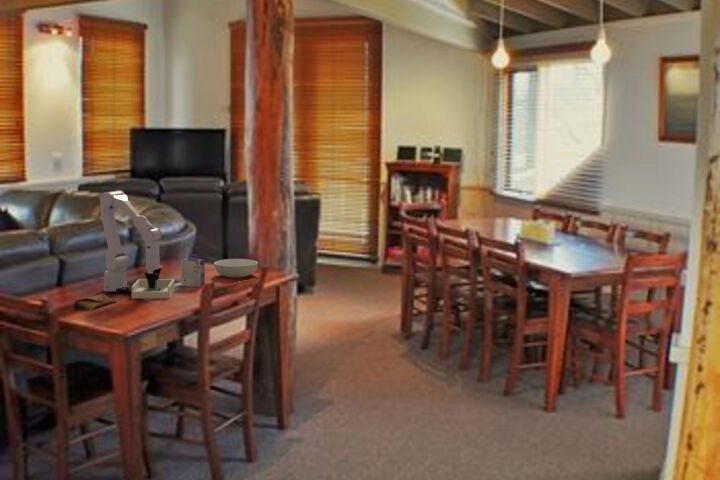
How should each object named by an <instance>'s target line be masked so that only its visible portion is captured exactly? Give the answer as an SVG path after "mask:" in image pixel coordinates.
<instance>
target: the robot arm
mask: <svg viewBox="0 0 720 480" xmlns="http://www.w3.org/2000/svg"><path fill="white" fill-rule="evenodd" d="M128 199H129V198H128V195H127V194H125V192H124V191H122V189H121V190H119V189H118V190H113V191H106V192H105V191H104V192H103V193H102V194H101V195H100V198H99V201H100V217H101V220H102V226H103V231H104V234H105V239H106V243H107V248H108V250H107V252H106V254H105V255H104V257H105V262H104V263H105V267H106V269H107V270H105V271H104V274H103V281H104V282H103V284H104V285H103V286H104V290H103V291H104V292H117V291H116V289H118V288H122V287H126V286H127V287H128V285H127V284H128V283H127V280H128V279H127V269H128V267H129V266H130V258H129V255H127V251H126V250H125V249H124V248H123V247H122V243H121V239H120V234H119V231H118V225H117V222H116V216H115V211H117V209H121V210H122V211H123V212H124V213H125V214H126V215H127V216H128V217H129V218H131V220H132V221H133V223H132V224H133V226H134V227H135V228H136V229H137V230H138V231H139V232H140V234H141V235H142V237H141V238H142V240H143V241H144V245H145V269H146V270H147V271H146V272H145V271H144V277H145V279H147V281H148V285H149V288H150V289H154V288H155V283H156V280H158V279H160V274H161V271H162V268H163V265H161V264H160V260H161V259H160V241H161V239H162V236H163V235H162V231H161V230H160V228H159V227H156V226H154V225H153V224H152V223H151V222H150V221H149V220H148V218H147V217H146V216H145V215H140V214H139V212H138V211H137V210H136V208H135V207H134V206H133V205H132V204H131V201H129V200H128Z"/></svg>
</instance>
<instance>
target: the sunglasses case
mask: <svg viewBox="0 0 720 480" xmlns="http://www.w3.org/2000/svg"><path fill="white" fill-rule="evenodd" d="M116 303H117V300H114V299H113V298H111V297H109V296H108V295H106V294H104V292H102V293H100V294H96V295H93V296H90V297H87V298H86V297H85V298H82V299H81V298H80V299H78V300H76V301H75V303H74V304H73V308H74V310H76V311H86V312H92V311H94V310H97V309H101V308H103V307H106V306H109V305H112V304H116Z"/></svg>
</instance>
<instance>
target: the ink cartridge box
mask: <svg viewBox="0 0 720 480" xmlns="http://www.w3.org/2000/svg"><path fill="white" fill-rule="evenodd" d="M205 271H206V264H205V258H202V259H201V258H198V254H197V253H190V254H189V257H188V258H182V259H181V260H180V286H181V287H192V288H193V287H195V288H196V287H197V288H201V287H204V286H206V272H205ZM203 285H204V286H203Z"/></svg>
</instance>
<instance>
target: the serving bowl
mask: <svg viewBox="0 0 720 480" xmlns="http://www.w3.org/2000/svg"><path fill="white" fill-rule="evenodd" d="M213 264H214V269H215V271H216V272H217V273H218V274H219V275H220V276H222V277H227V278H230V279H241V278H245V277H247V276H251V275H253V274H254V273H255V272H256V271H257V269H258V265H259V262H258V261H257V260H253V259H246V258H228V259H220V260H217V261H215V262H214V263H213Z"/></svg>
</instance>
